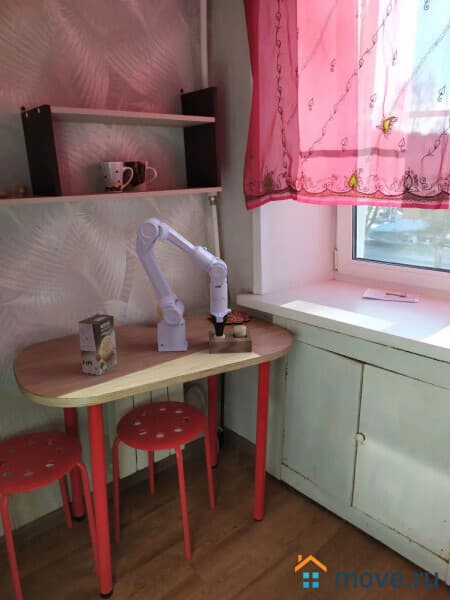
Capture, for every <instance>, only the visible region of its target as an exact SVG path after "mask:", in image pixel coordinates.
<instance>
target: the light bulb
mask: <svg viewBox="0 0 450 600" xmlns="http://www.w3.org/2000/svg"><path fill="white" fill-rule="evenodd" d="M155 309H156V314H157V316H158V317H159V318H160V323H162V322H164V319H163V311H162V309H161V306H160V302H159V303H158V304H157V306H156V308H155Z"/></svg>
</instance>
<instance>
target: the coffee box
mask: <svg viewBox="0 0 450 600" xmlns="http://www.w3.org/2000/svg"><path fill="white" fill-rule="evenodd" d="M114 320H115V318H114V315H111V314H110V315H109V314H98V313H96V314H94V315H92V316H90V317H89V316H88V317H86V318H85V319H82V320H79V321H78V322H77V323H78V325H77V326H78V332H79V345H80V346H79V347H80V354H81V355H80V357H81V367H82V368H81V369H82V373H83V372H84V374H88V373H90V374H89V375H93V374H96V375H95V376H101V375H103V374H104V373H106V372H107V371H109V370H110V368H111V369H112V368H113V366H114V367H116V366H117V365H118V359H117V349H116V348H117V347H116V332H115V321H114ZM105 371H106V372H105ZM102 373H103V374H102Z"/></svg>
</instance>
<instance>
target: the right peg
mask: <svg viewBox="0 0 450 600" xmlns="http://www.w3.org/2000/svg"><path fill="white" fill-rule="evenodd" d="M233 330H234V338H246V330H247V326H245V325H243V324H242V325H241V324H238V325H235V326H233Z"/></svg>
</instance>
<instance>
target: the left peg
mask: <svg viewBox="0 0 450 600" xmlns="http://www.w3.org/2000/svg"><path fill="white" fill-rule="evenodd" d="M217 338H225V335H224V334H223V336H219V337H217V336H216V334H215V335H214V336H213V339H217Z"/></svg>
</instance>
